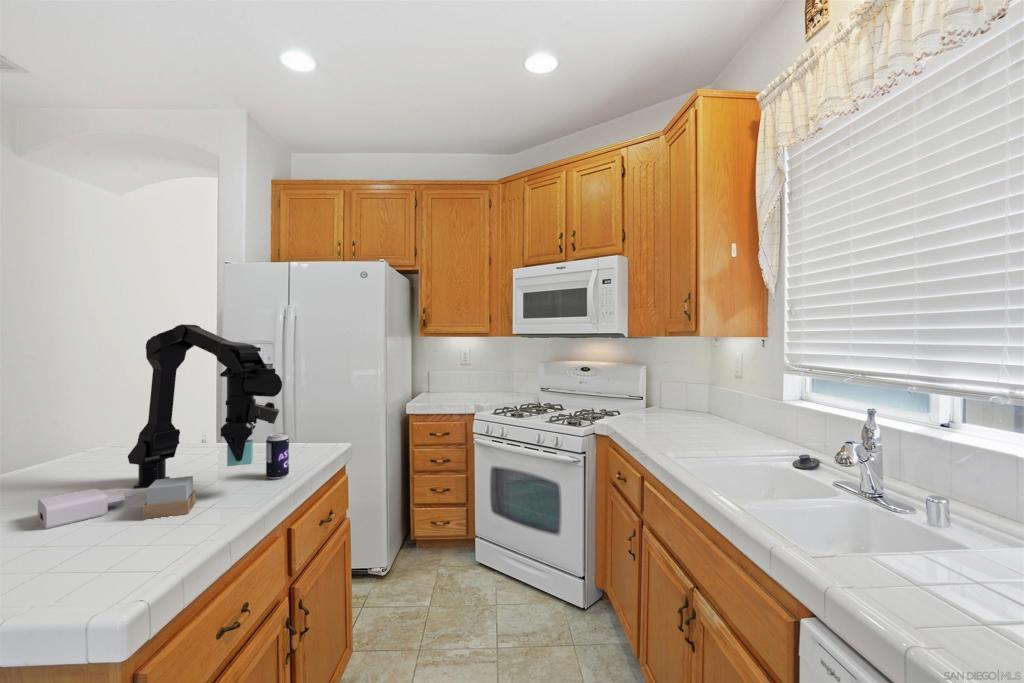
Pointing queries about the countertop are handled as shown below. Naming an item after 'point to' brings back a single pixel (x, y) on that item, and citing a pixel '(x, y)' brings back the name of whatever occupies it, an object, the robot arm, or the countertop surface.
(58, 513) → the charger
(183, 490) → the tower top
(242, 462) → the teal cube
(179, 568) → the countertop surface
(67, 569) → the countertop surface
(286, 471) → the beverage can
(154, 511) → the tower base
